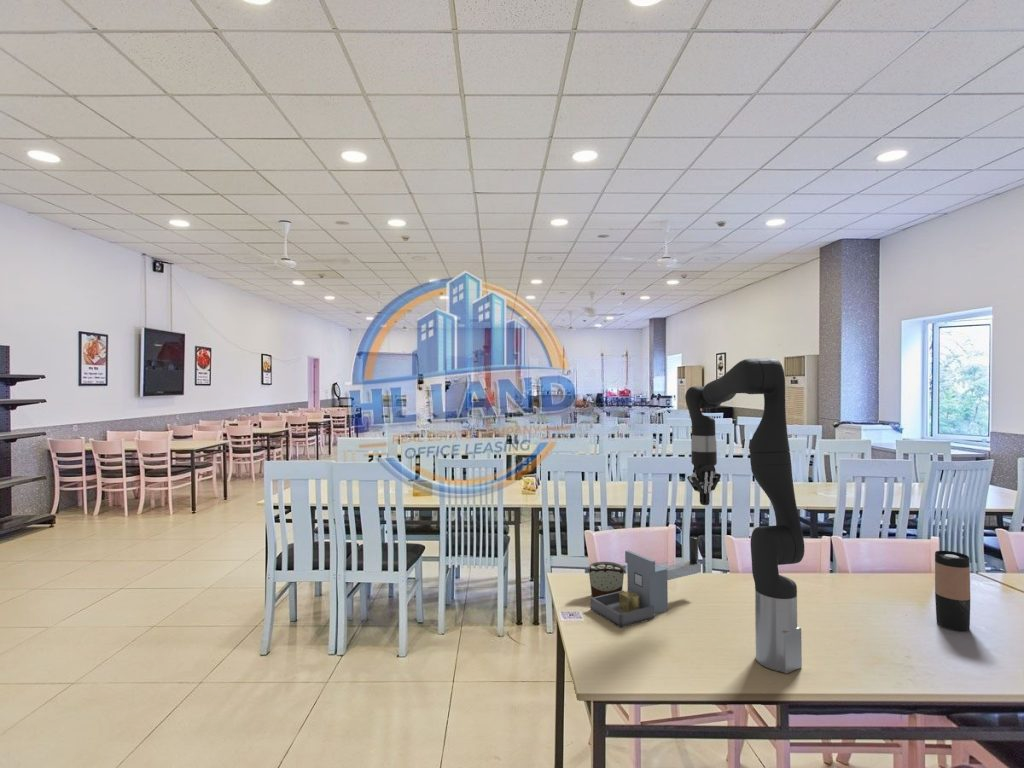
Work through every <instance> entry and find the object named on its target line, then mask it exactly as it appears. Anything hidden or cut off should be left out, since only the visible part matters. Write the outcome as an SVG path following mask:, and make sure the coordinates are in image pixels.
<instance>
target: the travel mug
mask: <svg viewBox="0 0 1024 768" xmlns="http://www.w3.org/2000/svg"><path fill="white" fill-rule="evenodd" d="M970 562H971V561H970V557H969V556H968V555H967V554H964V553H961V552H957V551H950V550H936V551H934V601H935V618H936V624H937V625H938V626H940V627H942V628H944V629H947V630H950V631H955V632H962V633H963V632H964V633H965V632H970V627H971V573H970V572H971V567H970Z"/></svg>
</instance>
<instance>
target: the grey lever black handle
mask: <svg viewBox="0 0 1024 768" xmlns="http://www.w3.org/2000/svg"><path fill="white" fill-rule="evenodd" d="M662 567H663V568H666V569H667V581H671V580H674V579H679V578H683V577H687V576H692V575H695V574H699V573H702V562H699V537H697V536H689V561H685V562H681V563H676V564H671V565H667V566H666V565H665V566H662ZM635 583H636V584H638V585H640V586H642V575H640V574H637V573H635Z"/></svg>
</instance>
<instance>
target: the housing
mask: <svg viewBox="0 0 1024 768" xmlns="http://www.w3.org/2000/svg"><path fill="white" fill-rule="evenodd" d="M624 553H625V554H624V556H625V558H624V559H625V560H624V563H625V564H627V571H626V572H627V573H626V575H627V576H626V577H627V591H631V592H633V593H635V594H637V595H639V608H645V607H648V606H654V614H655V615H658V614H661V612H662V613H666V612H668V611H669V610H668V607H669V606H668V605H669V604H668V602H669V601H668V594H669V593H668V589H669V588H668V580H667V569H666V568H663V567H664V566H661V565H658V564H656V560H653V559H651V558H648V557H646V556H643V555H640V554H639V553H636V552H633V551H631V550H625V551H624ZM635 573H637V574H640V575H642V586H640V585H638V584H636V583H635Z"/></svg>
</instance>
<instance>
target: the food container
mask: <svg viewBox="0 0 1024 768" xmlns="http://www.w3.org/2000/svg"><path fill="white" fill-rule="evenodd" d="M586 570H587V572H586V574H588V576H589V582H590V593H591V594H590V595H591V598H593V597H597V596H601V595H606V594H610V593H614V592H618V591H623V585H624V575H627V573H626V572H627V571H626V569H625V566H623V565H622V564H620V563H618V562H617V563H616V562H614V561H613V562H612V561H595V562H592V563H590V564H589V565H588V567H587V569H586Z"/></svg>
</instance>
